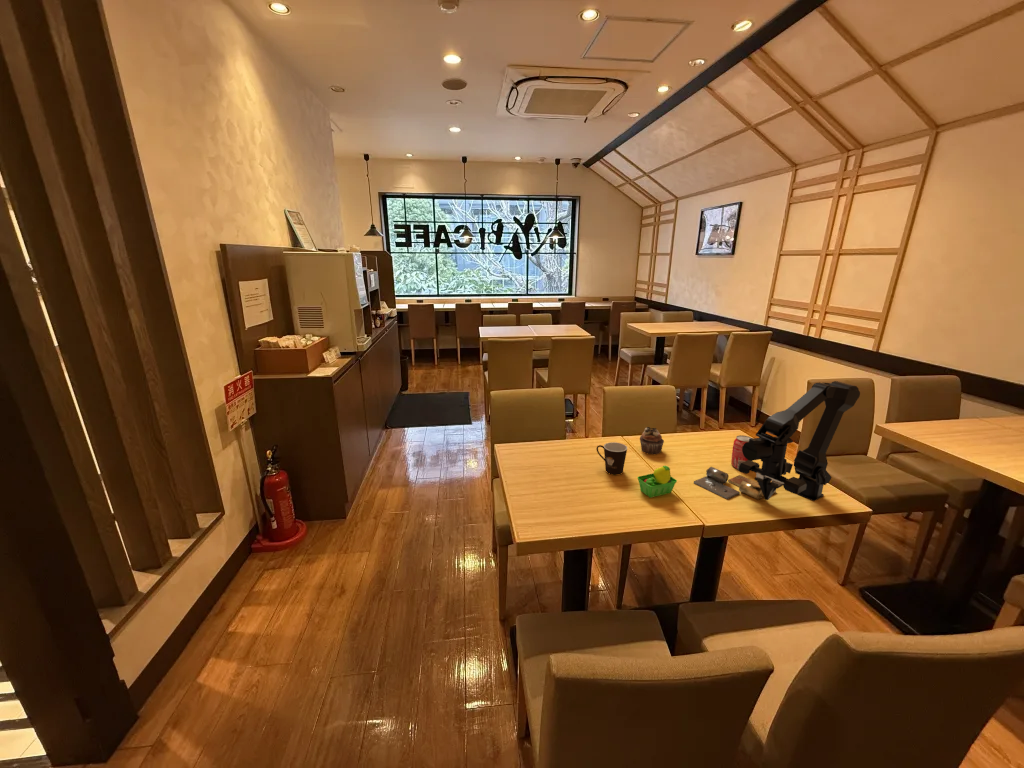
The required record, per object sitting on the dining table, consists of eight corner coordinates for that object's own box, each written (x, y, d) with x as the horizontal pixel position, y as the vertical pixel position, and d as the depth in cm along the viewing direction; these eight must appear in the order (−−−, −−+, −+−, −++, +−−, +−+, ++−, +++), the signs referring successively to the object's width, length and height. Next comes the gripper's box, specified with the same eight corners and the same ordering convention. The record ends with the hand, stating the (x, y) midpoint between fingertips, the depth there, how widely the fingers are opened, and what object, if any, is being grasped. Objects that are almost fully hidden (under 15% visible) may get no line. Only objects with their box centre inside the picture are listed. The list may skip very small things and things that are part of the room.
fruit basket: (661, 483, 152) (664, 454, 149) (679, 495, 144) (682, 465, 141) (635, 489, 148) (637, 460, 145) (651, 502, 140) (654, 471, 137)
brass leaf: (775, 492, 145) (777, 481, 144) (757, 501, 140) (759, 490, 139) (739, 476, 156) (740, 467, 155) (720, 484, 151) (722, 474, 149)
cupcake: (664, 456, 174) (666, 433, 171) (639, 454, 176) (641, 431, 173) (661, 446, 183) (663, 425, 180) (638, 444, 185) (640, 423, 182)
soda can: (746, 463, 167) (750, 434, 163) (754, 471, 160) (758, 442, 157) (727, 462, 167) (731, 434, 164) (734, 471, 161) (738, 441, 157)
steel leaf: (746, 490, 147) (748, 480, 146) (727, 499, 141) (728, 488, 140) (710, 474, 158) (711, 464, 157) (691, 482, 153) (692, 472, 152)
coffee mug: (630, 473, 160) (632, 449, 157) (611, 478, 157) (612, 453, 154) (612, 461, 170) (613, 438, 167) (594, 465, 167) (595, 441, 164)
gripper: (819, 460, 131) (810, 505, 135) (759, 440, 146) (752, 481, 151) (801, 469, 125) (792, 516, 130) (740, 447, 141) (734, 489, 145)
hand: (766, 499), depth 139 cm, fingers closed
